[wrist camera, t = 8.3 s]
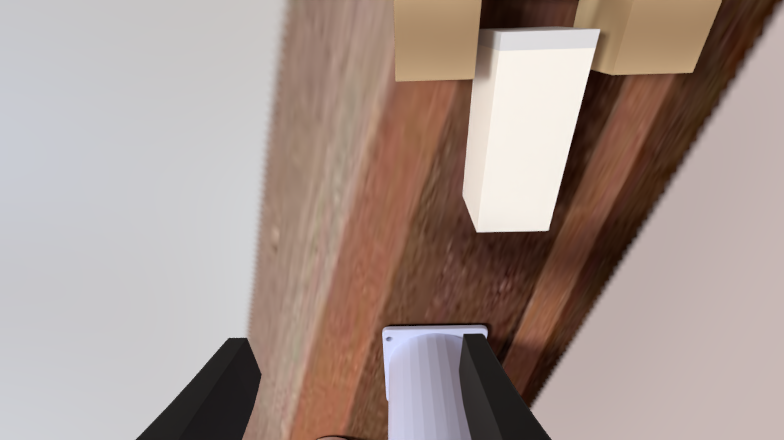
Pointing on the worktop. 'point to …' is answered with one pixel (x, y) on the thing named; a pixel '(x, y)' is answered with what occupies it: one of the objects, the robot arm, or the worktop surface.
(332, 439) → the supplement bottle
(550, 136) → the white block
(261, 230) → the worktop surface
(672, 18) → the tan bridge
